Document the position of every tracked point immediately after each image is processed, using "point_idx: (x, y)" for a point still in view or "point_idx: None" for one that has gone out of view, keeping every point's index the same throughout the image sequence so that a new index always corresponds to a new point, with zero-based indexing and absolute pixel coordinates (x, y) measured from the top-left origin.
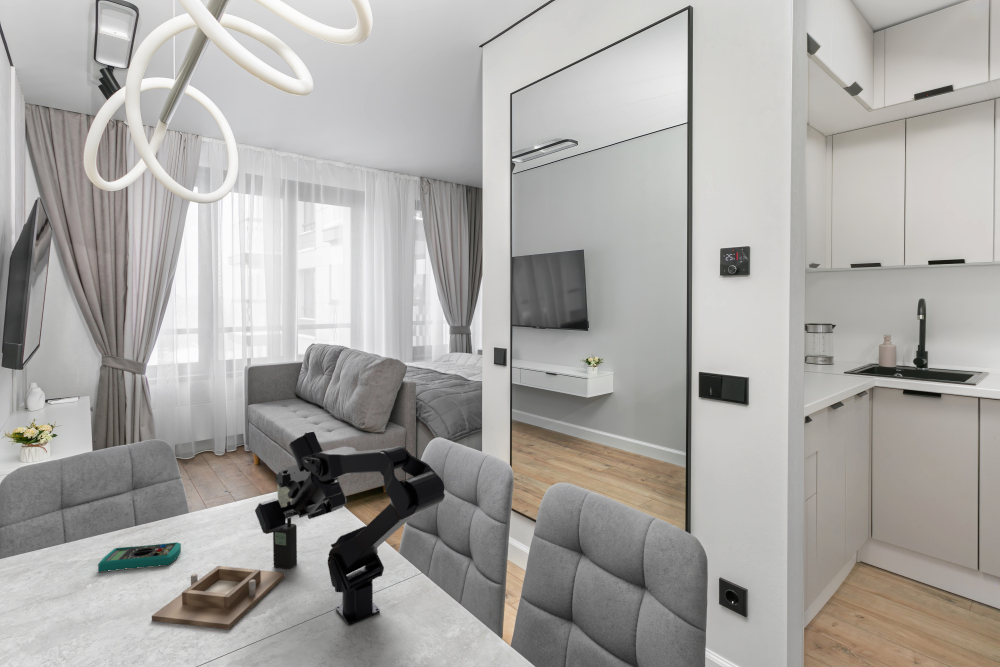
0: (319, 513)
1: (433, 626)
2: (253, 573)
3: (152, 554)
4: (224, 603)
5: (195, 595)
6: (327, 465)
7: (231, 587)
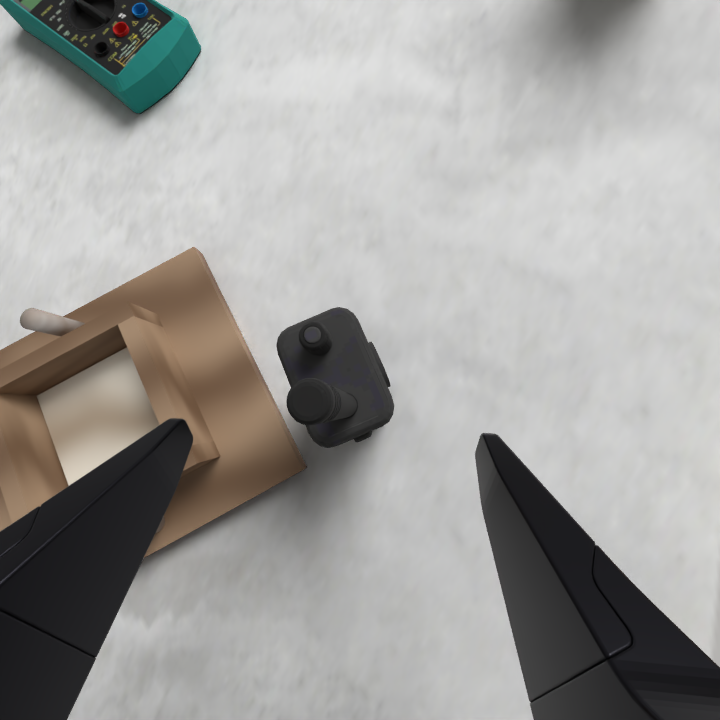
0: (527, 658)
1: None
2: None
3: (97, 42)
4: None
5: None
6: None
7: (143, 416)
